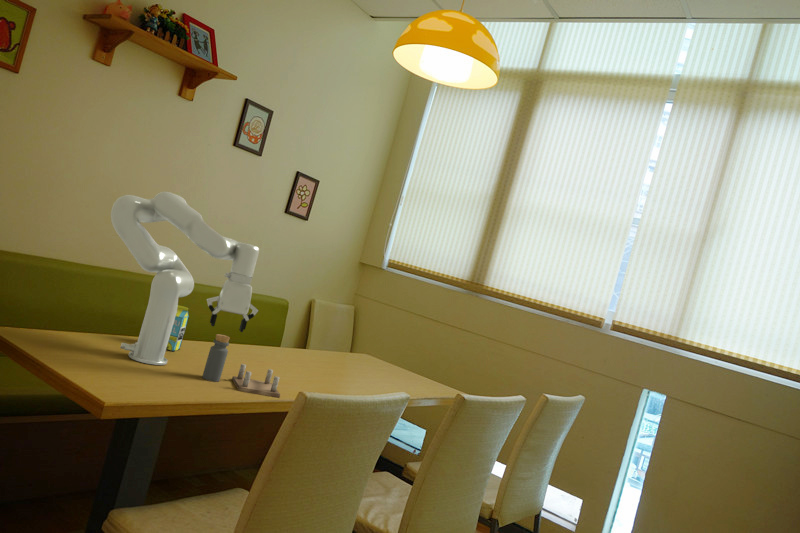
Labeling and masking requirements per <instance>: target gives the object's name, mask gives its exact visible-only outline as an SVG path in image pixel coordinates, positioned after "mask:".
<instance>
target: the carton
mask: <svg viewBox="0 0 800 533" xmlns="http://www.w3.org/2000/svg"><path fill="white" fill-rule="evenodd" d="M189 309H190V308H188V307H186V306H183V305H179V304H178V308H177V313H176V316H175V320H174V323H173V327H172V330H171V334H170V337H169V341H168V344H167V348H166V351H167V352H168V351H169V352H172V353H174V352H177V351H180V349H181V347H182V346H181V345H182V343H183V338H184V335H185V332H186V329H187V326H188V323H189V320H190V316H189Z"/></svg>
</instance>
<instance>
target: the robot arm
mask: <svg viewBox="0 0 800 533" xmlns="http://www.w3.org/2000/svg"><path fill="white" fill-rule="evenodd" d="M110 220H111V224H112V227H113V229H114V230H115V232H116V234H117V235H118V236H119V238H120V239H121V240H122V242H123V243H124V244H125V247H126V248H127V249H128V251H129V252H130V254H131V255H132V256H133V258H134V259H135V261H136V262H137V264H138V265H139V266H140V268H141V269H142V270H144V271H145V272H147V273H148V272H149V273H156V274H155V275H154V277H153V279H152V281H151V285H150V286H151V287H150V293H149V298H148V304H147V307H146V310H145V314H144V318H143V320H142V324H141V328H140V332H139V336H138V338H137V341H136V342H135V343H131V344H130V343H126V342H121V344H120V349H122V350H125V351H129V352H128V358H130V359H131V360H134V361H136V362H140V363H142V364H147V365H156V366H164V365H167V364H168V362H169V360H168V359H167V358H166V357H165V354H166V351H167V350H166V348H167V344H168V341H169V337H170V334H171V330H172V327H173V323H174V320H175V316H176V313H177V308H178V305H179V298H183V297H187V296H188V295H190V294H192V292H193V290H194V288H195V280H194V278H193V275H192V274H191V272H190V271H189V270H188V268H187V267H186V266H185V264H184V263H183V261H182V260H181V259H180V257H179V256H178V255H177V254H176V252H175V251H174V250H172V249H171V248H170V247H168V246H165V245H160V244H158V243H157V242H156V241H155V239H154V238H153V237H152V235H151V234H150V232H149V231H148V230H147V229H146V228H145V227H144V226H143V224H142V223H144V224H150V223H159V222H168V223H170V224H171V225H172V226H174V227H175V228H176V229H178V230H180V232H182V234H184V235H185V236H186V238H188V239H189V240H190V241H191V242H192V243H193V244H194V245H196V247H198V248H200V249H201V250H202V251H203V252H205V253H206V254H208V255H209V256H210V257H212V258H215V259H217V260H218V259H219V260H223V261H232V263H231V267H230V271H229V272H225V273H224V277H226V278H227V279H226V280H225V281H224V284H222V287H221V289H220V290H221V291H220V293H219V295H217V296H213V297H209V298H207V299H206V302H207V306H208V308H209V310H210V312H211V316H210V320H209V323H210V325H211V327H215V326H216V322H217V317H218V313H219V312H220V311H222V312H228V313H231V314H236V315H237V314H238V315H242V319H241V322H240V325H239V328H238V330H239V331H240V333H243V332H244V331H245V330H246V327H247V324H248V321H250V320H251V319H253V318H254V317H255V316H256V314H257V313H258V312H259V309H257V307H255V306H254V305H253V304H252V303H251V301H252V300H251V299H252V295H253V286H252V285H251V284H252V280H253V276H254V272H255V268H256V264H257V261H258V257H259V253H260V248H259V246H257V245H253V244H250V243H246V242H240V241H238V240H235V239H234V238H230V237H226V236H223V235H221V234H220V233H218V232H217V231H216V230H214V229H213V228H212V227H211V226H210V225H208V224H207V223H206V222H205V221H204V219H203V216H202V214H201V213H200V212H198V211H197V210H196V209H194V208H193V207H191V206H190V205H189V204H188V203H187V201H186V199H185V198H183V196H181V195H179V194H176V193H173V192H170V191H161V192H158V193H157V194H156V195H155V196H154V197H153V198H144V197H141V196H137V195H133V194H125V195H121V196H120V197H118V198H117V199H116V200H115V201H114V202H113V205H112V207H111V211H110ZM214 302H217V303H216V306H215V307H214V306H213V303H214ZM249 310H252V311H251V313H249ZM248 313H249V314H248Z"/></svg>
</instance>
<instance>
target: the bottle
mask: <svg viewBox="0 0 800 533" xmlns="http://www.w3.org/2000/svg"><path fill="white" fill-rule="evenodd" d="M230 339H231V337H229V336H228V335H225V334H220V333H219V334H215V339H214V340H213V344H214V345H211V347H210V349H209V352H208V354H207V359H206V362H205V366H204V370H203V373H202V375H201V376H202V379H204V380H207V381H209V382H214V383H215V382H216V383H218V382H220V380H221V377H222V373H223V370H224V367H225V362H226V360H227V358H228V352H229V350H228V348H227V347H229V345H230V342H229V340H230Z"/></svg>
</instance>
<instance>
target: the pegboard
mask: <svg viewBox="0 0 800 533" xmlns="http://www.w3.org/2000/svg"><path fill="white" fill-rule="evenodd" d="M246 367H247V364H245V363H241V364H240V368H239V369H238V370H239V371H238V373H237V376H235V375H233V376H232V378H231V380H232V382H233V383H234V385H235V387H236V388H237V391H239V392H244V393H250V394H256V395H262V396H269V397H273V398H280V397H281V393H280V392H279V391H278V389H277V388H278V385H279V381H280V376H274V377H273V380H272V376H273V372H274V369H271V368H268V370H267V372H266V376H265V379H264V381H261V380H257V379H251V376H252V371H249V370H246ZM245 370H246V372H245ZM271 380H272V382H271Z"/></svg>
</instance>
